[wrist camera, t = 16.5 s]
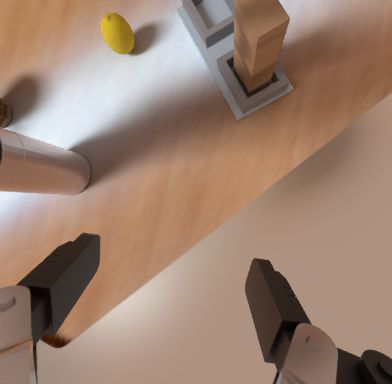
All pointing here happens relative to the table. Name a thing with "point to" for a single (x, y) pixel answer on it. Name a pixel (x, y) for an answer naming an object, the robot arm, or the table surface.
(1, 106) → the ceramic cup
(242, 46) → the wooden block
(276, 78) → the grey double tray
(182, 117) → the table surface
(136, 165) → the table surface
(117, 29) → the lemon
